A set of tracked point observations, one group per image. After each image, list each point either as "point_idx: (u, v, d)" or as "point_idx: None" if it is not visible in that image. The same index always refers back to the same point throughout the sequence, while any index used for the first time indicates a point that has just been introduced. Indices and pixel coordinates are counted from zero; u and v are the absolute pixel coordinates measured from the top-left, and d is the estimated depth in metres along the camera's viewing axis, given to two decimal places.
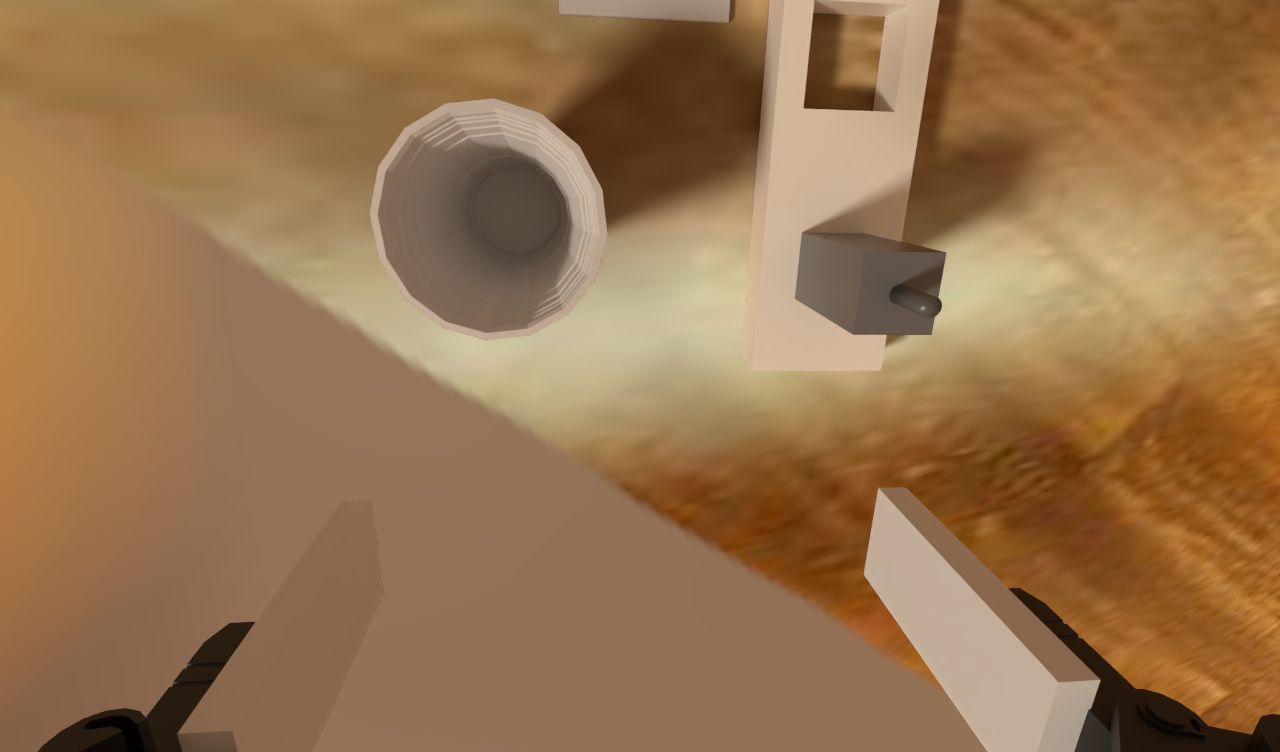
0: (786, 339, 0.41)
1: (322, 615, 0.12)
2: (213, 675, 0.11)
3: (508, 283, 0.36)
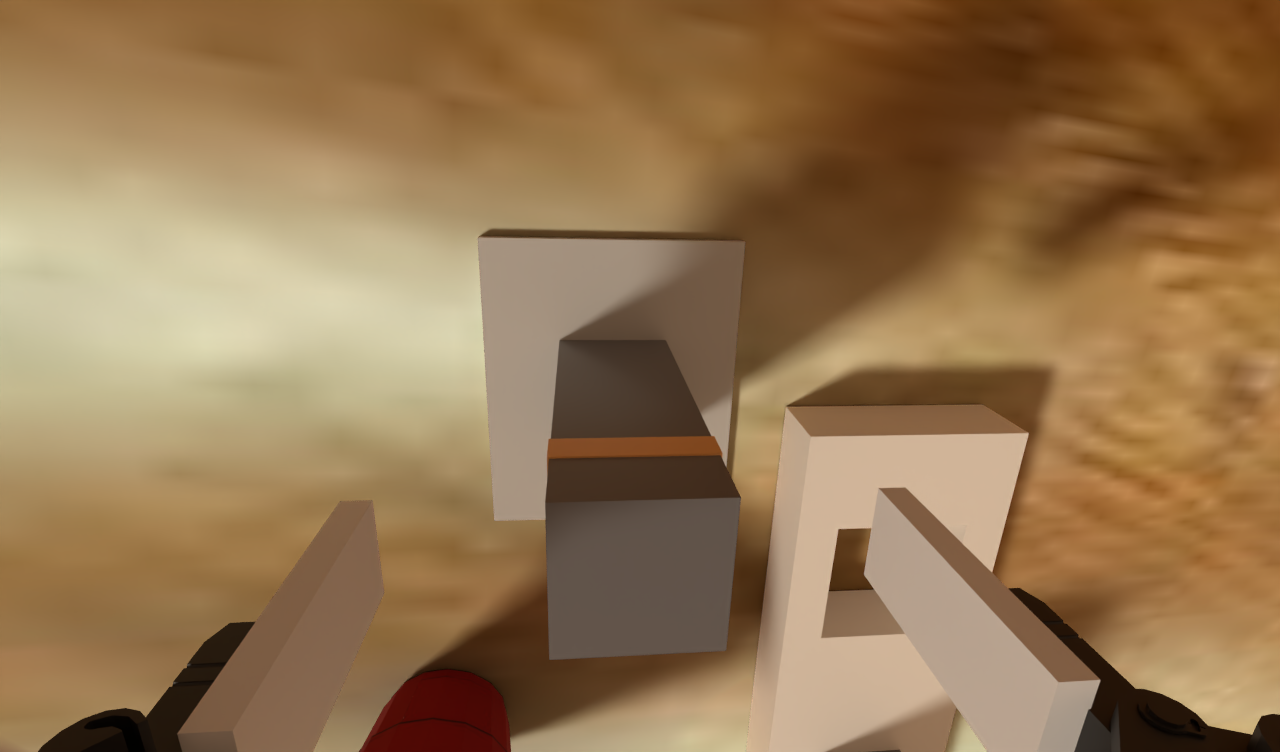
0: None
1: (321, 616, 0.12)
2: (213, 675, 0.11)
3: None
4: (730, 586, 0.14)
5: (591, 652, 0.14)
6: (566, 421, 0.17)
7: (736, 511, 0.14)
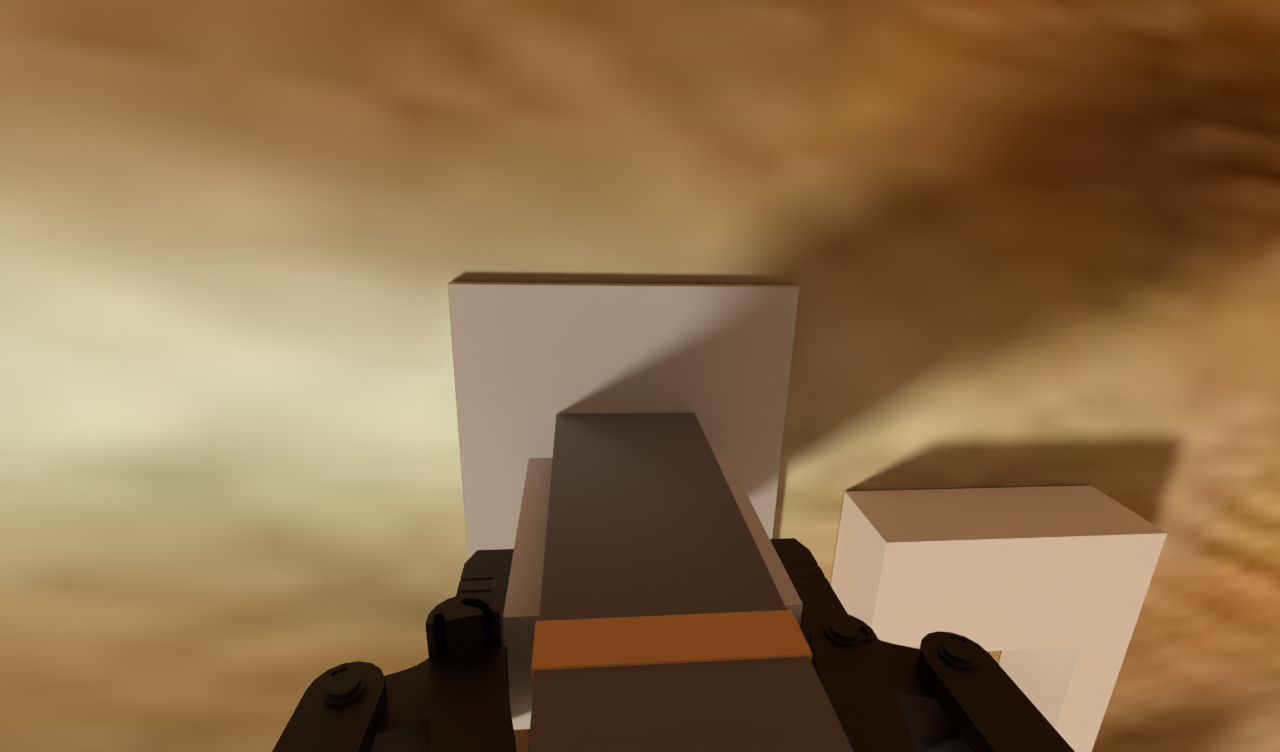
0: None
1: None
2: (486, 586, 0.13)
3: None
4: None
5: None
6: (564, 578, 0.11)
7: None
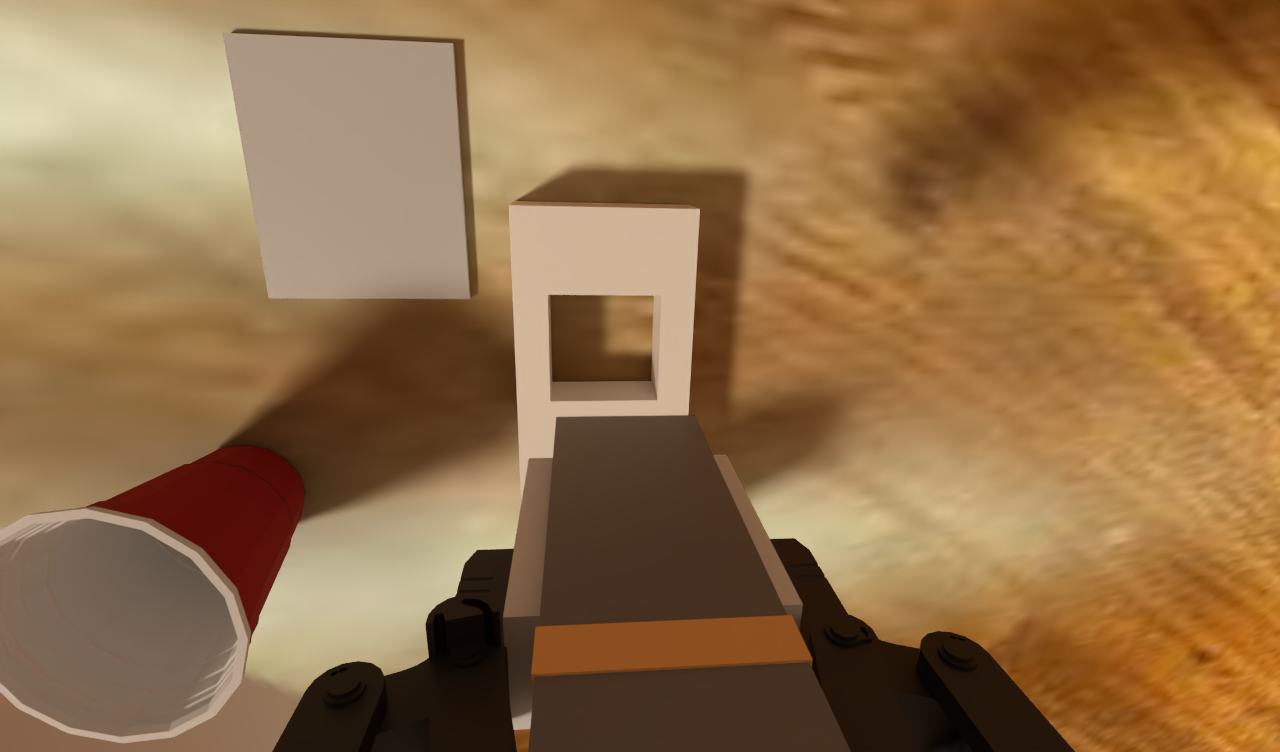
0: None
1: None
2: (486, 585, 0.13)
3: (211, 605, 0.32)
4: None
5: None
6: (564, 583, 0.11)
7: None
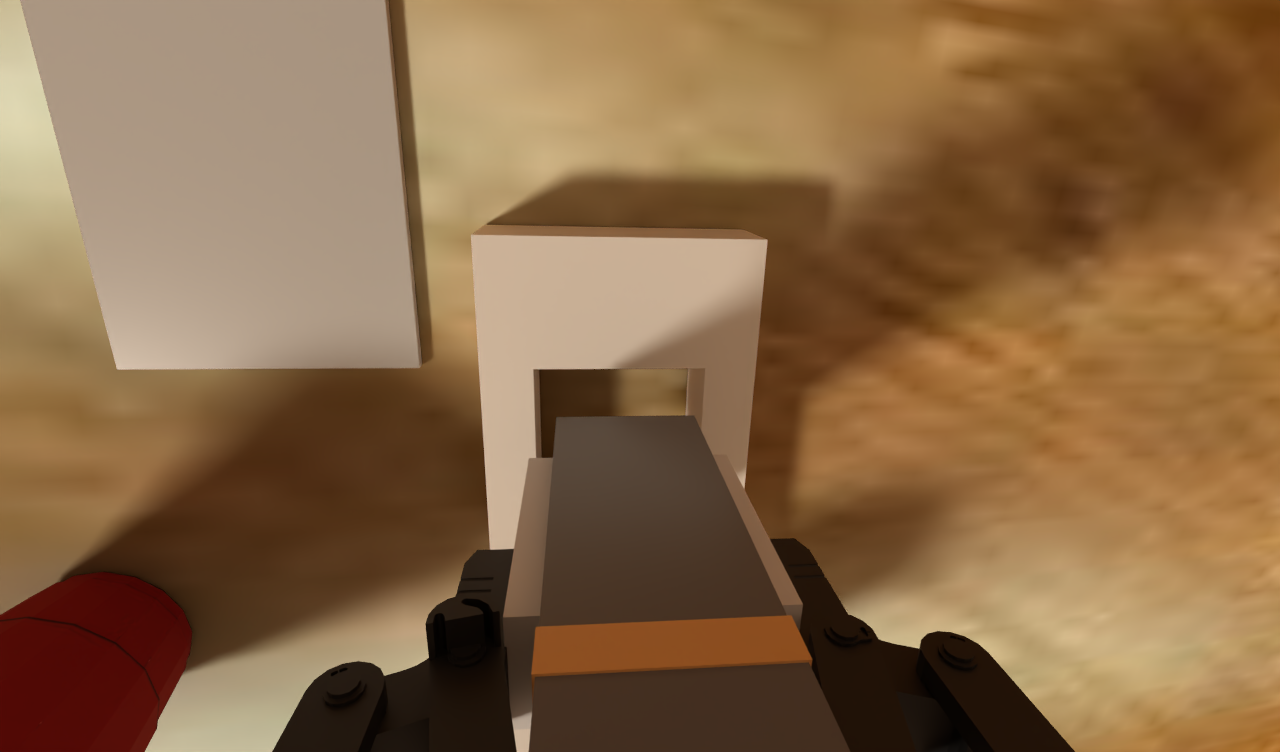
0: None
1: None
2: (486, 585, 0.13)
3: None
4: None
5: None
6: (564, 583, 0.11)
7: None
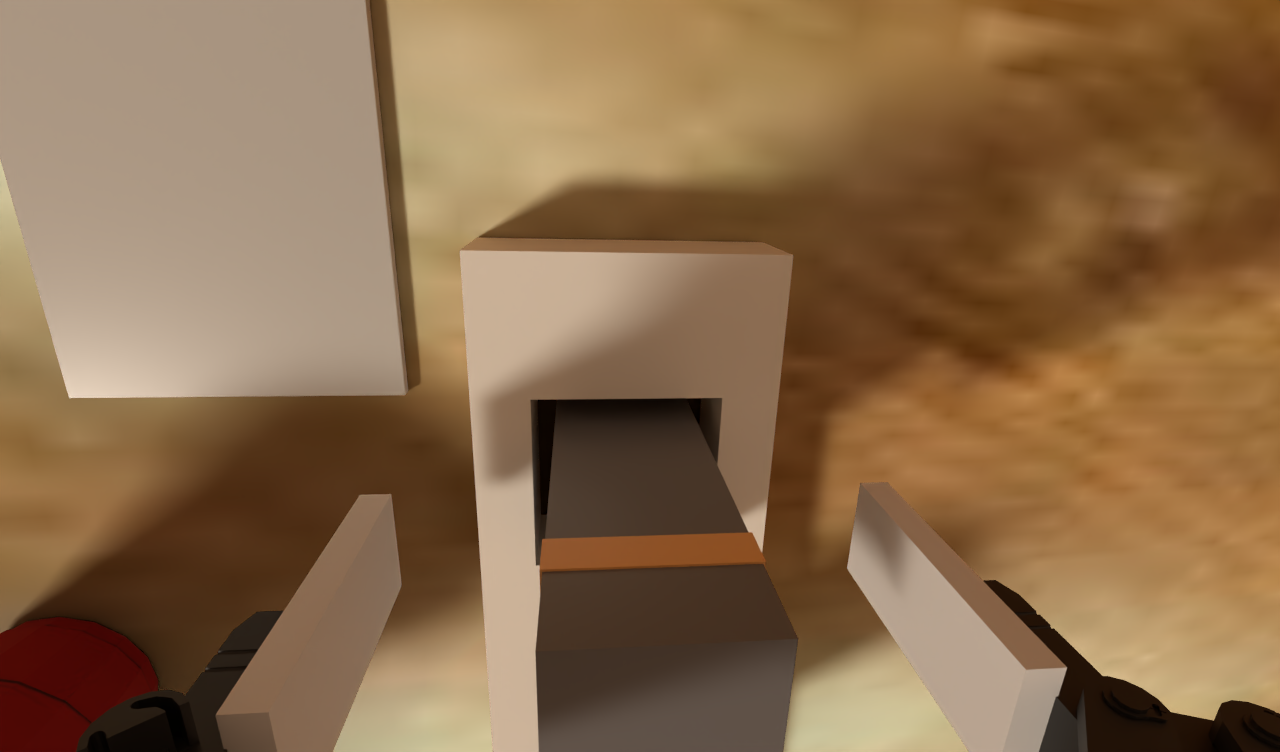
0: None
1: (346, 604, 0.12)
2: (244, 661, 0.11)
3: None
4: (781, 748, 0.11)
5: None
6: (565, 510, 0.14)
7: (792, 656, 0.10)
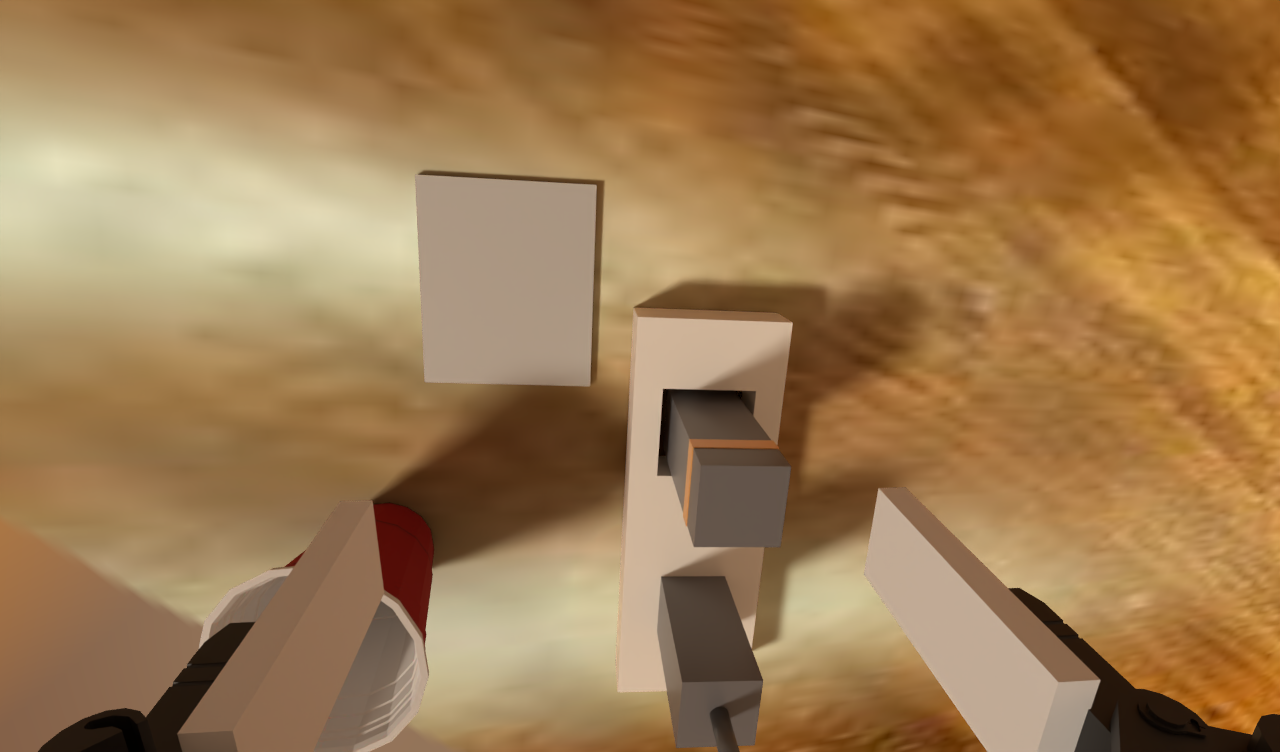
0: (650, 664, 0.42)
1: (322, 615, 0.12)
2: (213, 675, 0.11)
3: (363, 643, 0.37)
4: (784, 512, 0.29)
5: (714, 544, 0.29)
6: (693, 431, 0.32)
7: (789, 473, 0.29)
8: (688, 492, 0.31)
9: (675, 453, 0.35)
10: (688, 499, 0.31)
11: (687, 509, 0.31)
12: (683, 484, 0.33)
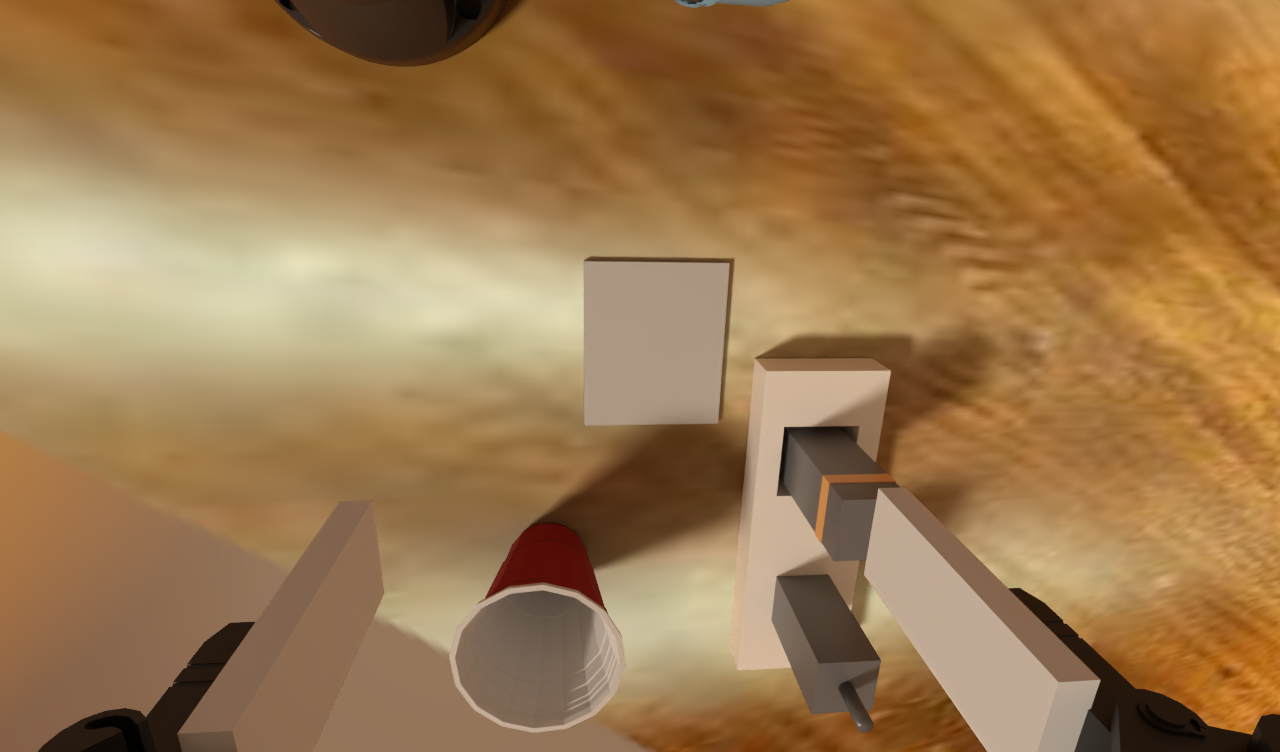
0: (764, 647, 0.51)
1: (321, 615, 0.12)
2: (213, 675, 0.11)
3: (544, 638, 0.45)
4: None
5: (849, 558, 0.38)
6: (822, 467, 0.40)
7: None
8: (823, 517, 0.39)
9: (798, 480, 0.44)
10: (823, 522, 0.39)
11: (822, 530, 0.39)
12: (813, 508, 0.41)
